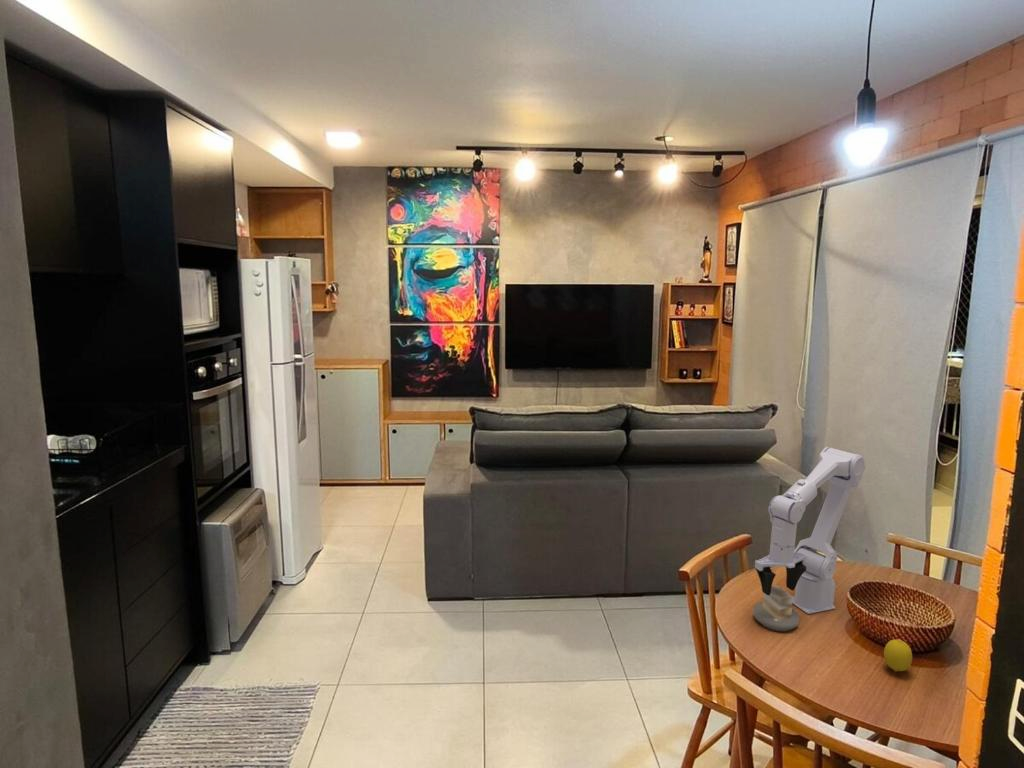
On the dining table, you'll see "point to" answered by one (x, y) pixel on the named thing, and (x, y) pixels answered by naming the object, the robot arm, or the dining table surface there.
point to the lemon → (898, 655)
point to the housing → (778, 603)
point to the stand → (772, 622)
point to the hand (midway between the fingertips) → (778, 591)
